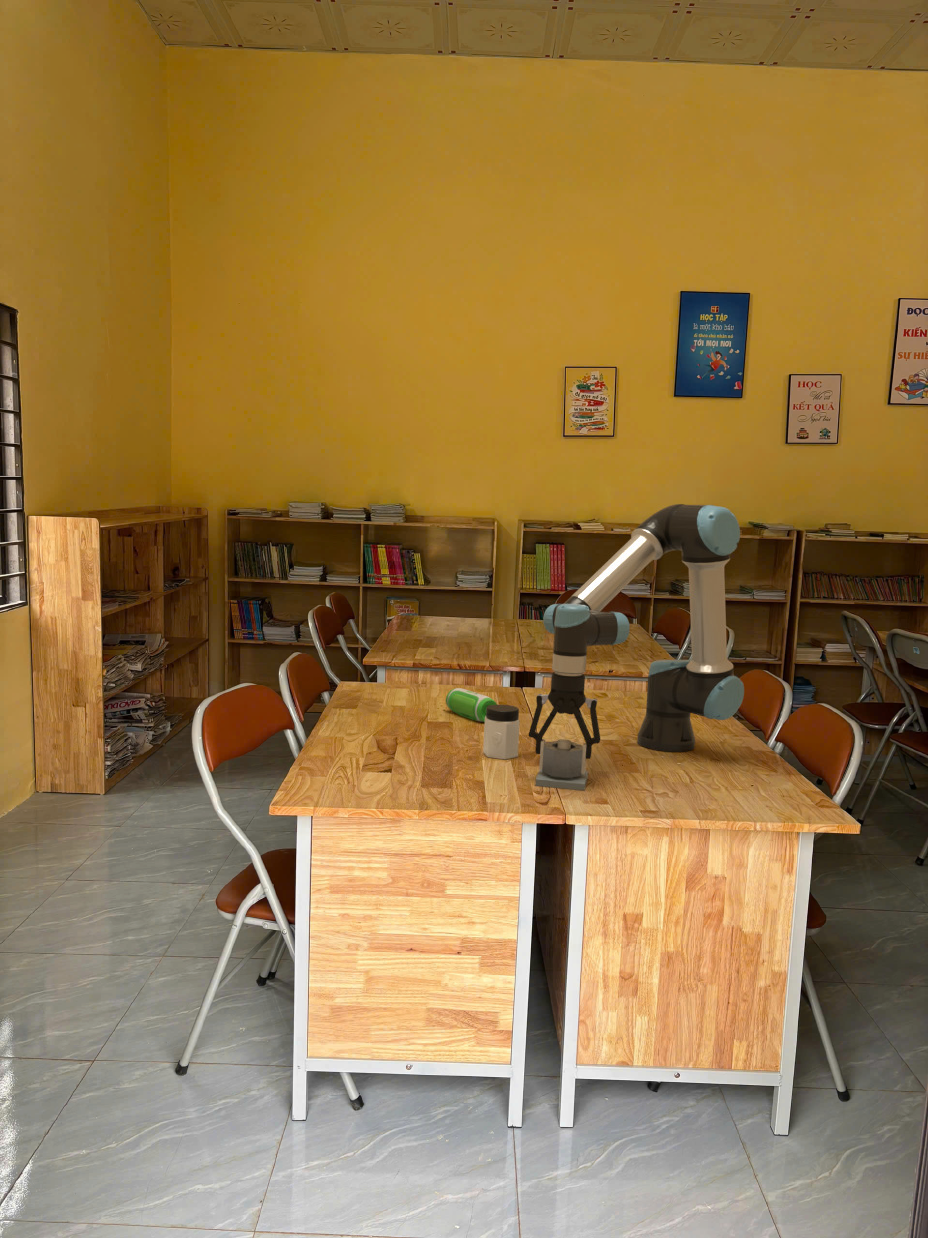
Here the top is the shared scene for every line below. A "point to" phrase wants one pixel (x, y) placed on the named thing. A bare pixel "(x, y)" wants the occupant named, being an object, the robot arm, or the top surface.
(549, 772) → the tube
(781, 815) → the top surface
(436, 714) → the top surface
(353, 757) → the top surface
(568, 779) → the shaft stand
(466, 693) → the speaker
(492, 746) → the jar
